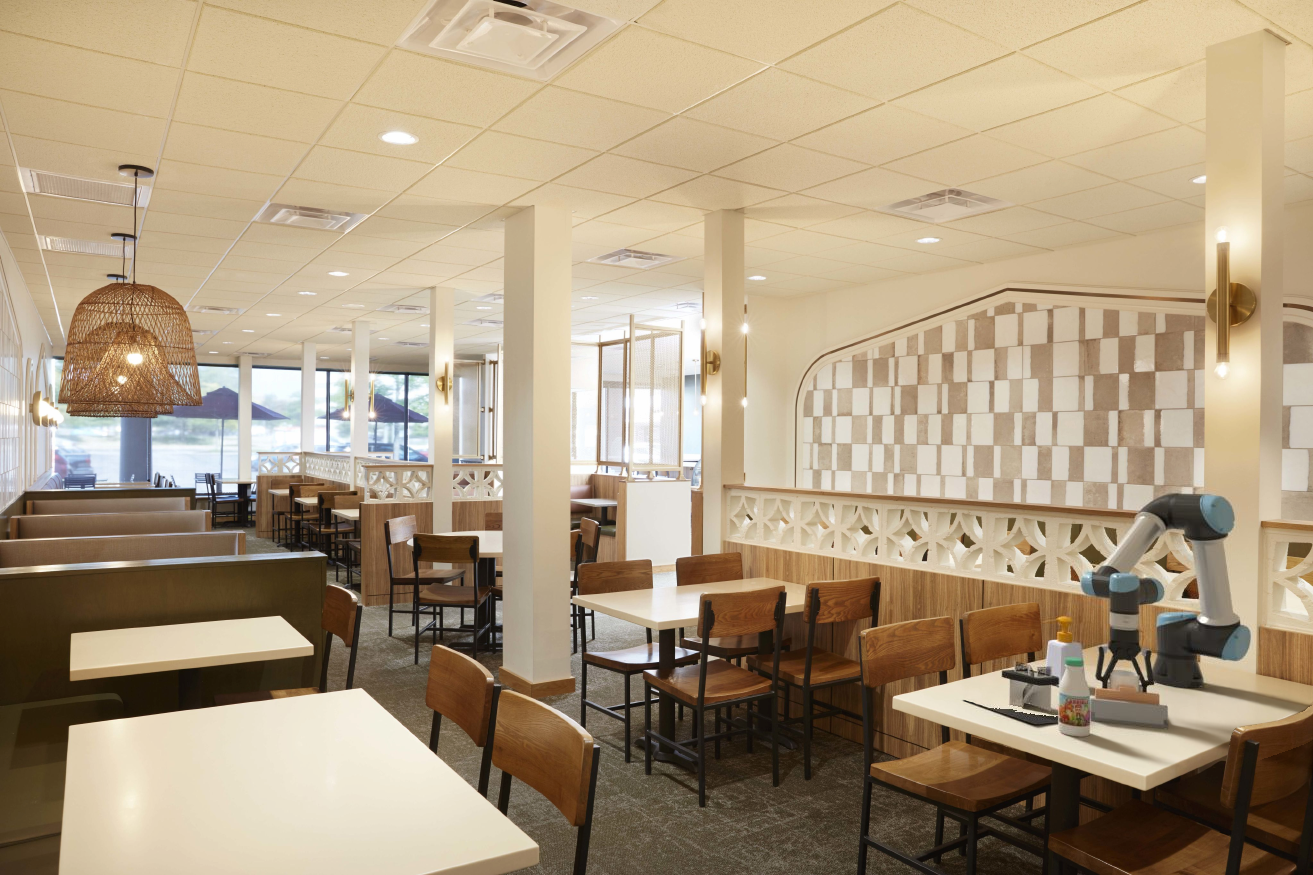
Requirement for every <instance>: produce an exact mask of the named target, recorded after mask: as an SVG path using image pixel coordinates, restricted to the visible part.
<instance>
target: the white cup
mask: <svg viewBox="0 0 1313 875" xmlns="http://www.w3.org/2000/svg"><path fill="white" fill-rule="evenodd" d="M1139 677H1140V676H1138V675H1137V673H1136V671H1131V670H1126V669H1113V672H1112V673H1110V678H1109V680H1108V682H1109V683H1110V689H1114V690H1118V685H1123V686H1133V687H1135V689H1136V692H1139V685H1140V683H1141V682H1140V679H1139Z"/></svg>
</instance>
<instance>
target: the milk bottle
mask: <svg viewBox="0 0 1313 875" xmlns="http://www.w3.org/2000/svg"><path fill="white" fill-rule="evenodd" d="M1084 663H1085V661H1084V658H1083V659H1080V658H1075V657H1067V658H1065V666H1066V670H1065V673H1064V676H1063V678H1062V680H1061V682H1060V685H1059V686H1058V704H1057V705H1058V706H1057V707H1058V711H1057V712H1058V714H1057V715H1058V722H1057V725H1058V726H1057V727H1058V731H1059V732H1060V733H1061V734H1064V735H1067V736H1072V737H1088V736H1089V735H1090V734H1091V719H1090V700H1091V696H1090V695H1091V694H1090V693H1091V692H1090V687H1089V684H1088V682H1087V680H1086V676H1085V677H1084V674H1083V668H1084V669H1085V664H1084ZM1083 665H1084V667H1083Z"/></svg>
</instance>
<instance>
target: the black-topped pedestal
mask: <svg viewBox="0 0 1313 875" xmlns="http://www.w3.org/2000/svg"><path fill="white" fill-rule="evenodd" d="M1045 669H1050V670H1049V671H1048V672H1047V673H1046V674H1045V672H1044V671H1045ZM1001 678H1003V679H1008V680H1009V700H1008V702H1009V704H1008V705H1013V706H1018V707H1023V708H1024V705H1025V704H1024V703H1026V704H1028V703H1030V704H1029V705H1031V704H1033V705H1032V706H1034V705H1036V706H1035V707H1037V706H1039V707H1038V708H1040V707H1041V708H1040V709H1043V708H1044V709H1043V710H1046V709H1047V710H1046V711H1049V710H1050V711H1049V712H1051V711H1052V686H1057V685H1059V678H1058V677H1056V676H1052V666H1051V667H1046V666H1040V667H1039V666H1036V670H1034V669H1033V668H1032V666H1031V665H1030V664H1026V663H1022V662H1019V661H1016V660H1014V669H1005V670H1001ZM987 709H989V708H987ZM989 710H992V711H994V712H998V713H1000V714H1004V715H1006V716H1009V717H1012V718H1016V719H1018V720H1021V721H1024V722H1027V723H1031V724H1033V725H1043V724H1053V723H1058V716H1056V717H1054V716H1046V715H1044V716H1043V715H1035V714H1031V713H1030V714H1027V713H1023V712H1015V711H1017V710H1013V709H1000V708H999V709H997V708H995V709H994V708H990V709H989Z"/></svg>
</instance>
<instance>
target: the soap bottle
mask: <svg viewBox="0 0 1313 875" xmlns="http://www.w3.org/2000/svg"><path fill="white" fill-rule="evenodd" d="M1051 622H1057V624H1058V625H1059V626H1061V629H1062V630H1061V631H1057V632H1056V634H1057V635H1056V639H1051V640H1048V643H1047V648H1046V650H1047V651H1046V658H1045V667H1051V666H1052V676H1056V677H1058V678H1059V685H1060V682H1061V680H1062V678H1063V676H1064V673H1065V670H1066V666H1065V658H1067V657H1075V658H1080V659H1083V660H1084V655H1083V654H1084V653H1083V645H1082V644H1081V643H1080V642H1077V641H1074V640H1073V636H1074V635H1073V633H1072V632H1069V631H1068V627H1072V623H1074V622H1075V621H1074V619H1073V618H1071V617H1068V616H1064V615H1063V616H1060V617H1059V616H1058V618H1056V619H1055V618H1054V619H1049V620H1044V621H1042V624H1047V623H1051ZM1083 667H1084V668H1083V674H1084V677H1085V678H1086V674H1085V664H1084V665H1083ZM1049 670H1050V669H1045V670H1044V673H1045V674H1046V673H1047V672H1048V671H1049ZM1059 685H1056V686H1057V687H1059Z"/></svg>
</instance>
